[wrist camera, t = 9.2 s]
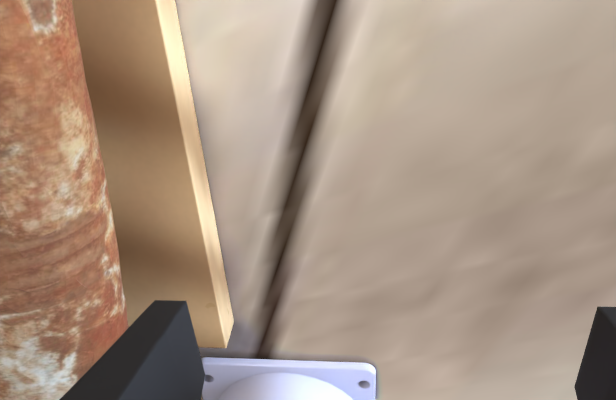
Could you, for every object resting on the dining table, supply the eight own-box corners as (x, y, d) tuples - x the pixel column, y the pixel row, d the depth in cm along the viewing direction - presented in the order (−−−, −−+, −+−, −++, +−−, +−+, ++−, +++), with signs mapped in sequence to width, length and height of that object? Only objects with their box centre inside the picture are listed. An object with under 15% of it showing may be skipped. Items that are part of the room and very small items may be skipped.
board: (234, 321, 24) (226, 348, 22) (-26, 314, 25) (-47, 339, 24) (96, -429, 12) (64, -461, 10) (-386, -364, 13) (-467, -385, 12)
